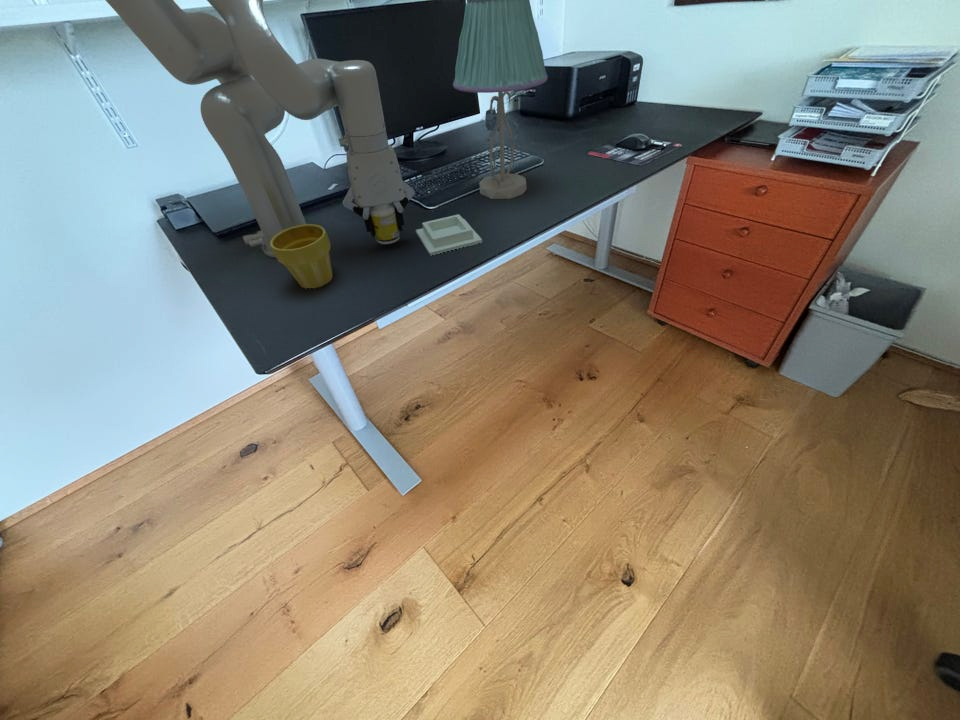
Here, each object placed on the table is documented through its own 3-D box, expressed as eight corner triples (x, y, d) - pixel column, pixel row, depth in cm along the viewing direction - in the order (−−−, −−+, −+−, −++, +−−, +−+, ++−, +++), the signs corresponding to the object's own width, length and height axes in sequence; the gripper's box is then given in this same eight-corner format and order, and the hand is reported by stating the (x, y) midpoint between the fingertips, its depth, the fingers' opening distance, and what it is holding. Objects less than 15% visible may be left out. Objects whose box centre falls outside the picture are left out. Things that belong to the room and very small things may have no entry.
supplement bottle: (373, 236, 92) (363, 192, 85) (397, 231, 93) (389, 188, 86) (378, 246, 88) (368, 202, 81) (402, 242, 89) (394, 198, 82)
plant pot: (281, 295, 79) (259, 250, 72) (301, 267, 87) (282, 224, 80) (332, 294, 78) (314, 248, 71) (347, 266, 86) (332, 222, 79)
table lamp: (487, 171, 120) (477, -10, 93) (555, 180, 112) (567, -16, 84) (448, 199, 107) (423, -1, 80) (521, 212, 99) (522, -9, 71)
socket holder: (430, 256, 86) (428, 244, 84) (416, 233, 94) (414, 221, 93) (482, 242, 89) (481, 231, 87) (464, 221, 97) (462, 210, 95)
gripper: (323, 154, 72) (349, 246, 84) (416, 140, 76) (428, 230, 89) (319, 142, 77) (344, 231, 89) (407, 130, 81) (419, 217, 94)
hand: (386, 230), depth 89 cm, fingers closed on supplement bottle, 5 cm apart
